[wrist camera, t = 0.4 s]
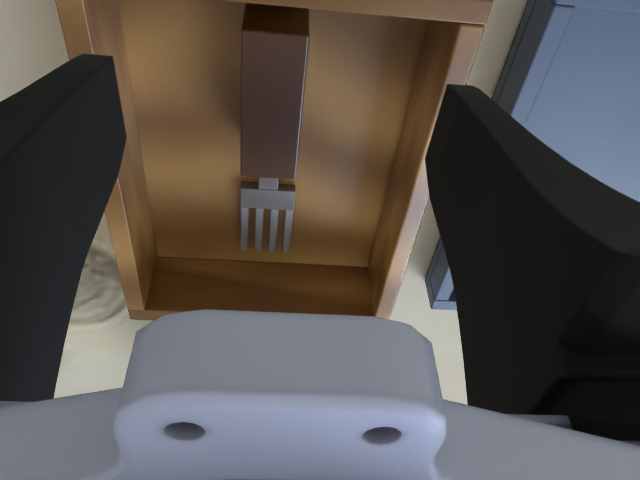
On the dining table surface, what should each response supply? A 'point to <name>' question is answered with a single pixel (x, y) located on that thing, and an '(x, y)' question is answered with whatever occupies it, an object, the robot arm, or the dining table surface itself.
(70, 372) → the dining table surface
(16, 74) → the dining table surface
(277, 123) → the fork
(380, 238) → the wooden box
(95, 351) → the dining table surface
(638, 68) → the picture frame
